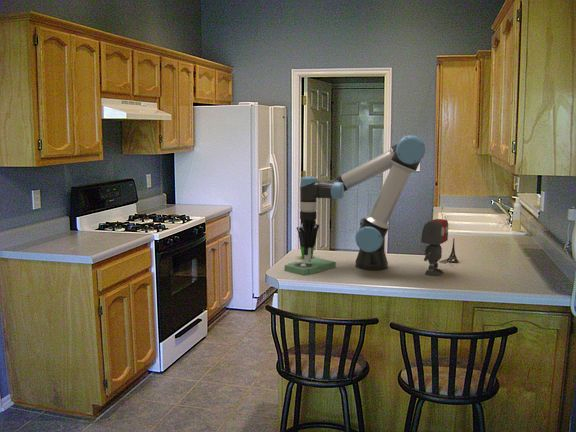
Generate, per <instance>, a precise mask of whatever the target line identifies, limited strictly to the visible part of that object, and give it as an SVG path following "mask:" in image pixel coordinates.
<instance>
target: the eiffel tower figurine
mask: <svg viewBox="0 0 576 432" xmlns="http://www.w3.org/2000/svg"><path fill="white" fill-rule="evenodd" d="M452 239H453V240H452V247H451V248H452V249H451V251H450V252H451V253H450V255H449V256H448V258H445V259H443V260H439V261H438V262H439V264H444V265H445V264H451V266H453V267H454V265H453V264H460V261H459V260H458V258H457V257H458V256H456V249H455V238H452Z"/></svg>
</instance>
